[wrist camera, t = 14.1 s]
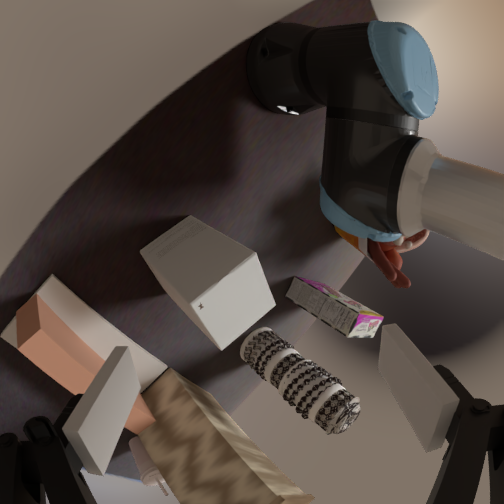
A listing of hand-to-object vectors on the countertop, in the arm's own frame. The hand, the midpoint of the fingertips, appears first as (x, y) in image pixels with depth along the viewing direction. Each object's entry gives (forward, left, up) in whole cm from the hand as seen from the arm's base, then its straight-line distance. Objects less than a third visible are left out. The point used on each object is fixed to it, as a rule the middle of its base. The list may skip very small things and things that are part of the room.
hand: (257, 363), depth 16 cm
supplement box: (-3, +12, -30) cm, 32 cm away
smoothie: (+29, +36, -30) cm, 55 cm away
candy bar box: (-18, +39, -30) cm, 52 cm away
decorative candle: (-3, +40, -30) cm, 50 cm away
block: (+18, +12, -29) cm, 36 cm away
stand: (+17, +34, -30) cm, 48 cm away
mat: (+17, +13, -30) cm, 37 cm away
